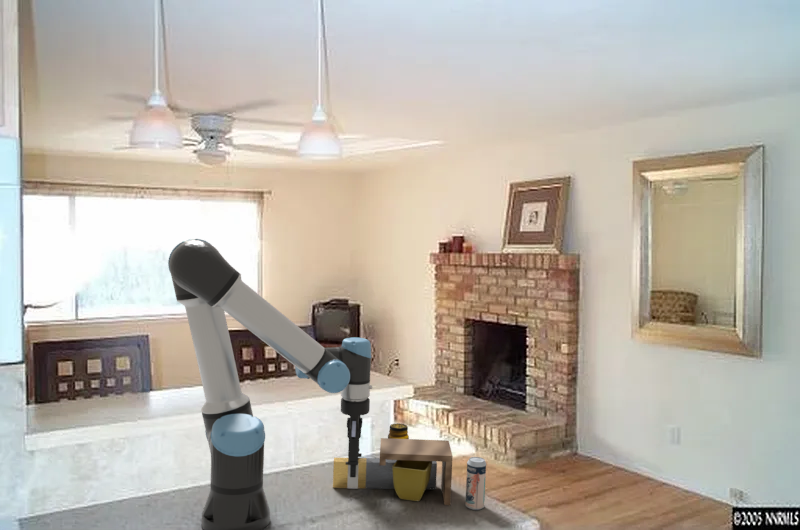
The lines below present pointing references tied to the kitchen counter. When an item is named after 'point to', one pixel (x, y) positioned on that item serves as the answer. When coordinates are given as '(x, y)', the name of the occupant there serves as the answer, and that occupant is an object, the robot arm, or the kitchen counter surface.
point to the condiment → (398, 431)
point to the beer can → (475, 483)
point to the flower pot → (411, 478)
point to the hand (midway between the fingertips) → (352, 484)
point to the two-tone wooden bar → (372, 474)
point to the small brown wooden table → (421, 456)
